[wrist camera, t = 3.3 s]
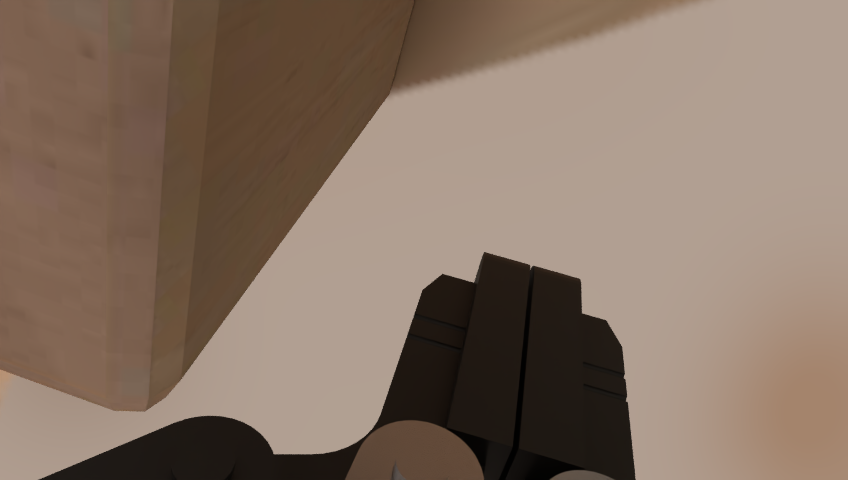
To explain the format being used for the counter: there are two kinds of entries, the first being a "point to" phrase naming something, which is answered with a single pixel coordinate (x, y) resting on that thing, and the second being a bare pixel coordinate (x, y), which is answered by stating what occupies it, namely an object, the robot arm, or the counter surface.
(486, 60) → the counter surface
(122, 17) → the wooden block
